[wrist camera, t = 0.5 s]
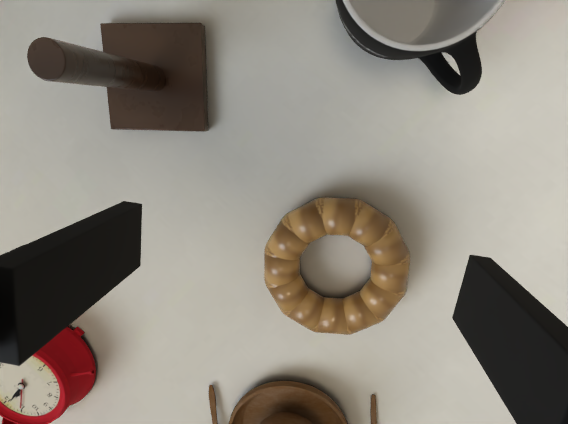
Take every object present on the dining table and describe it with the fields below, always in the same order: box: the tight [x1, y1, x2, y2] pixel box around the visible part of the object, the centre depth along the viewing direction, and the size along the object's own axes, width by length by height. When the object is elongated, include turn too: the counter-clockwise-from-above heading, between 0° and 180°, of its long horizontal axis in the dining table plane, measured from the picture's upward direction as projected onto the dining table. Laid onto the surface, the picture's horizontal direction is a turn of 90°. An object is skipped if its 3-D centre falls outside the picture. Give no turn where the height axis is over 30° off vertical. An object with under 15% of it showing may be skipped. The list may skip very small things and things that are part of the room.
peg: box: [27, 23, 208, 131], centre depth 25 cm, size 8×8×13 cm
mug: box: [336, 0, 505, 95], centre depth 23 cm, size 12×9×10 cm
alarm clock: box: [0, 327, 96, 424], centre depth 38 cm, size 10×6×15 cm
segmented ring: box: [265, 197, 410, 334], centre depth 32 cm, size 12×12×3 cm
